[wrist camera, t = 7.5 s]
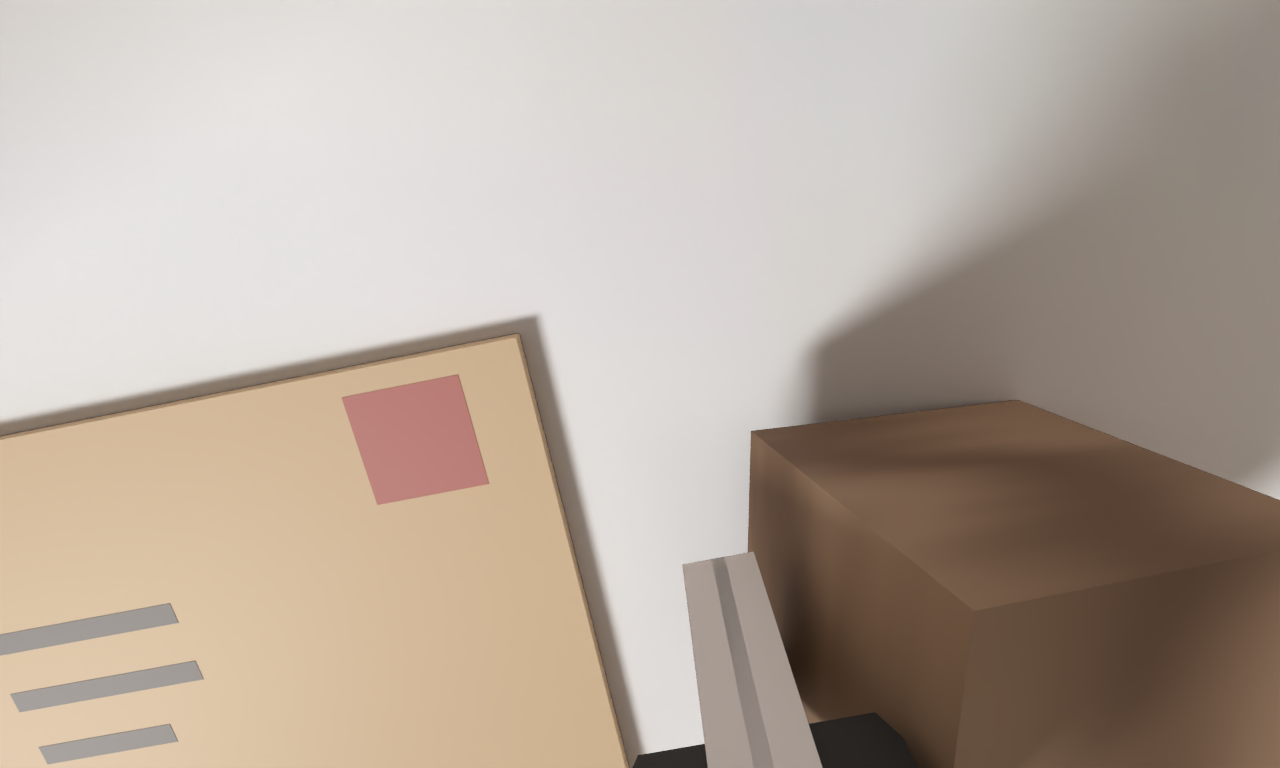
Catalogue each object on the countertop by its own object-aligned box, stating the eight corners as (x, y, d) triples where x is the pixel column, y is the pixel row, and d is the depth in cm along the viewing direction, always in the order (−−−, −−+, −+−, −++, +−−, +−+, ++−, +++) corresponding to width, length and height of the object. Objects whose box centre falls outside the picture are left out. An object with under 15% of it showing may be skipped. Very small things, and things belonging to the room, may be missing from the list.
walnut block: (744, 698, 15) (922, 1002, 10) (751, 431, 13) (974, 610, 8) (984, 646, 17) (1260, 883, 11) (1017, 400, 15) (1364, 532, 9)
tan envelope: (27, 900, 18) (15, 915, 18) (-219, 480, 15) (-242, 488, 15) (636, 799, 18) (637, 813, 17) (518, 333, 14) (515, 337, 14)
